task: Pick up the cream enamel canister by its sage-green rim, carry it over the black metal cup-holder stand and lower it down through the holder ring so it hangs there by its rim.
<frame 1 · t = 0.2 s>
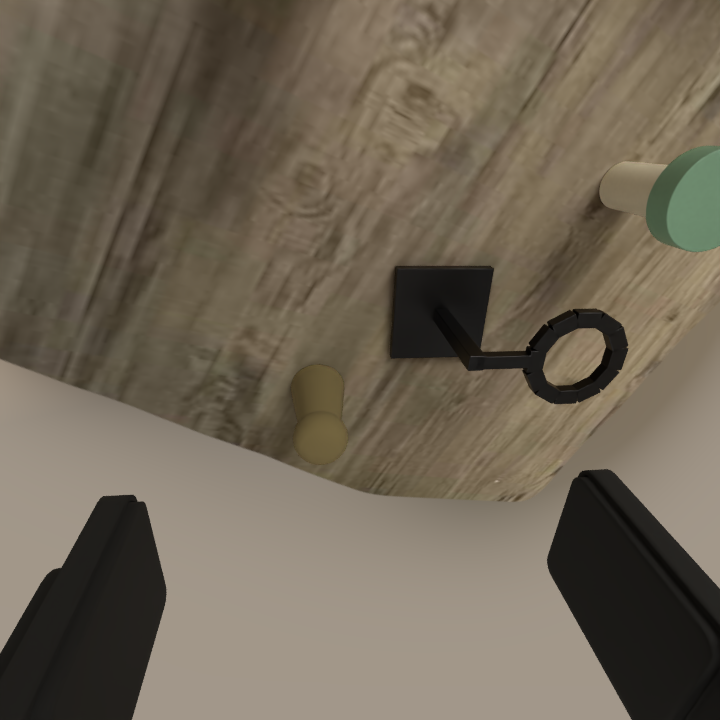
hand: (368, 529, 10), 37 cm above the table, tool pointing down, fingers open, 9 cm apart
tan pawn: (317, 387, 51), on the table
canister: (620, 185, 44), on the table
holder: (518, 310, 49), on the table
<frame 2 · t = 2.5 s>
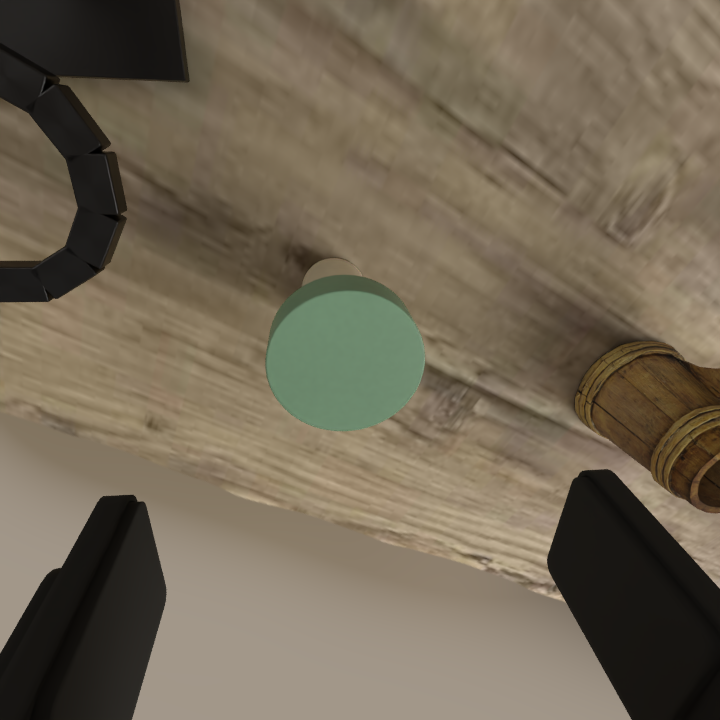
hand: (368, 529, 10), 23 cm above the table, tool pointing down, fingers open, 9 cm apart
wooden mug: (643, 366, 37), on the table
canister: (333, 288, 31), on the table
holder: (111, 159, 26), on the table
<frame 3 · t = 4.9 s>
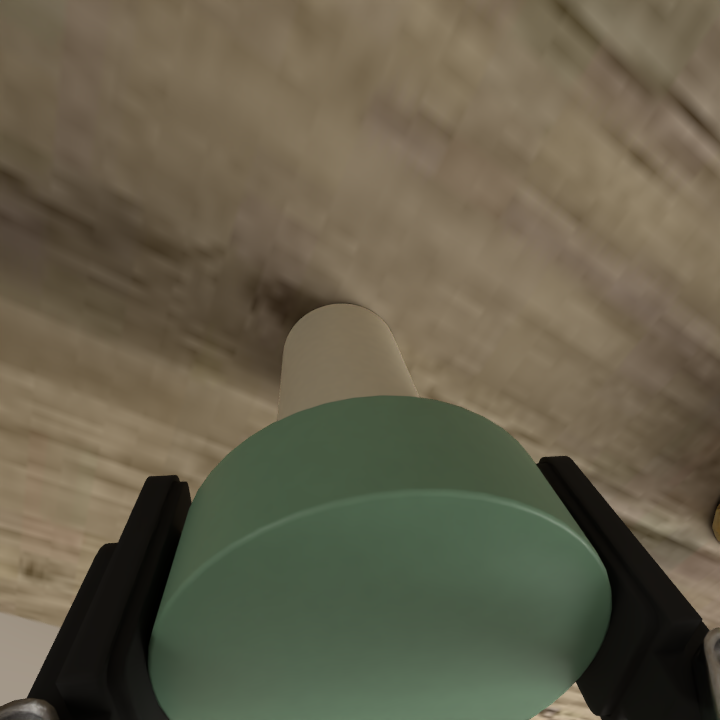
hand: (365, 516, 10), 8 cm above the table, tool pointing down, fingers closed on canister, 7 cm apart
canister: (340, 356, 17), on the table, touching gripper
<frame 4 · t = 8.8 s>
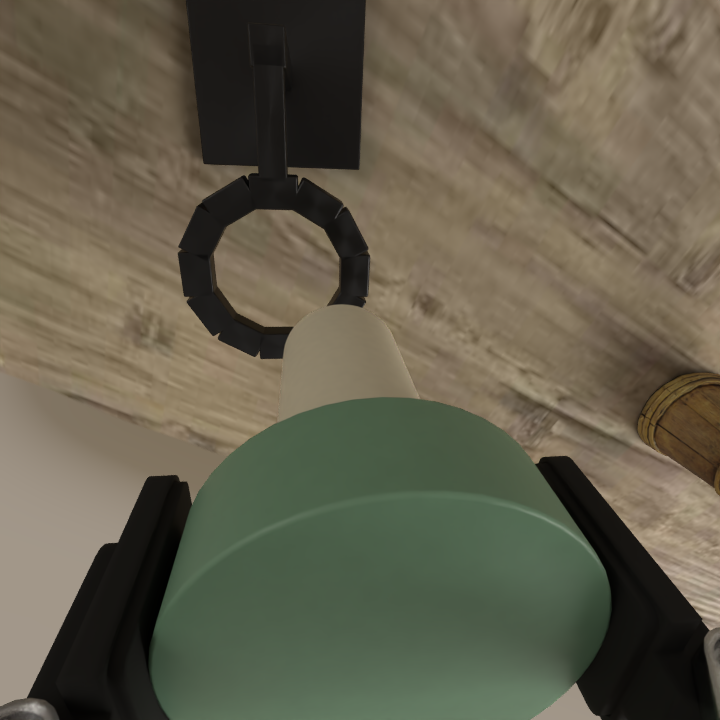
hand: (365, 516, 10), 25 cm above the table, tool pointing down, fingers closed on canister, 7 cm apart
wooden mug: (697, 393, 43), on the table
canister: (340, 357, 17), point 17 cm above the table, touching gripper
holder: (285, 227, 32), on the table
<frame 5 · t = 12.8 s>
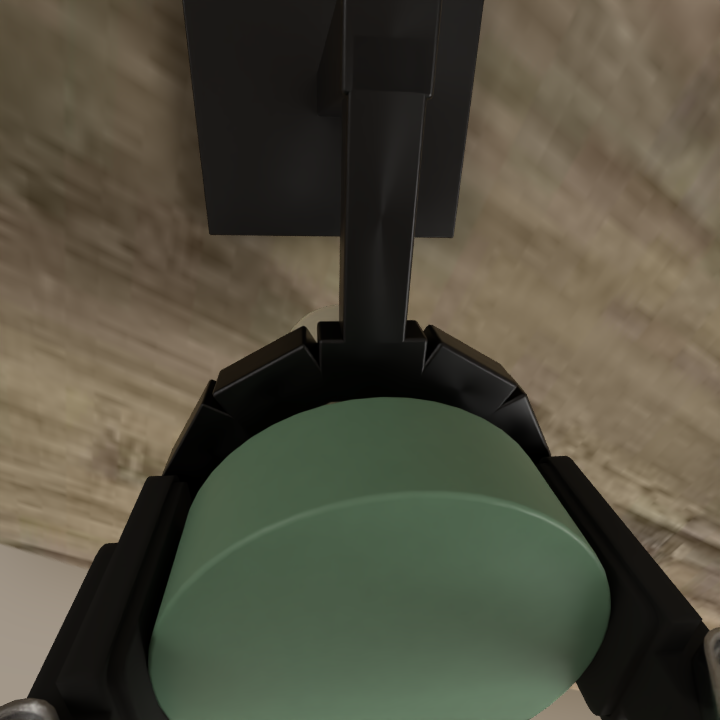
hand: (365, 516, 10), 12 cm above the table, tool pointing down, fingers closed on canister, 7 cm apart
canister: (340, 357, 17), point 4 cm above the table, touching gripper
holder: (333, 318, 21), on the table
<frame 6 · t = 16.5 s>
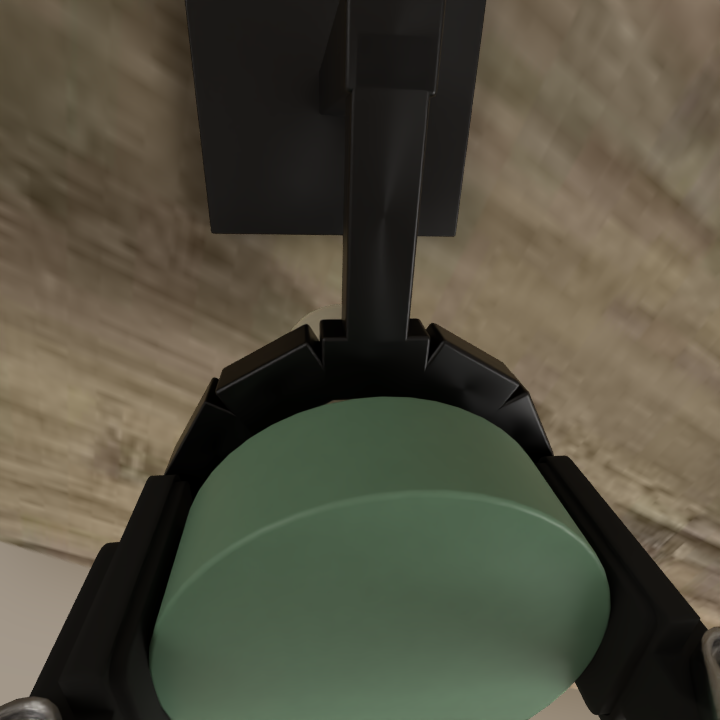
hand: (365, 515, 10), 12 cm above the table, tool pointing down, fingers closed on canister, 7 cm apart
canister: (340, 356, 17), point 4 cm above the table, touching gripper
holder: (334, 317, 21), on the table
when the fingers open (13 cm above the table, at t = 19.8 s): canister drops 1 cm, resting on holder.
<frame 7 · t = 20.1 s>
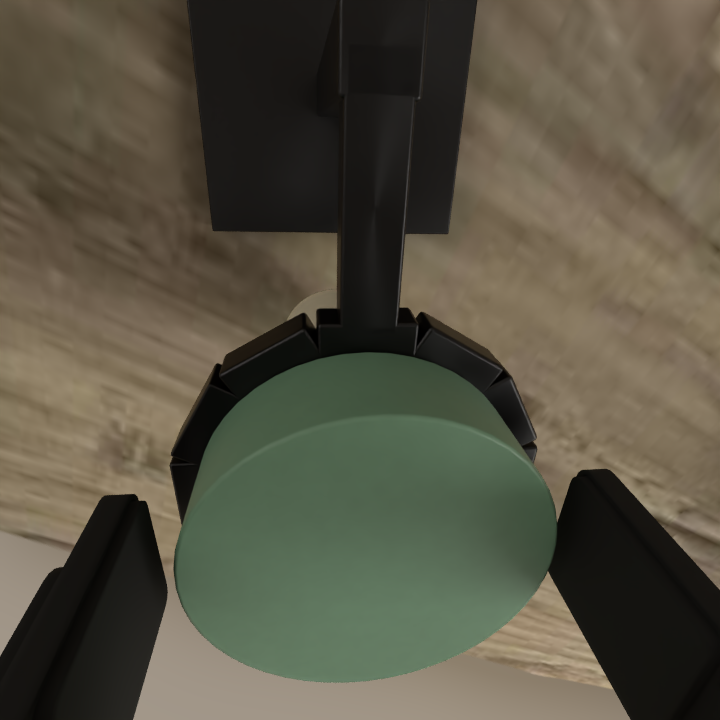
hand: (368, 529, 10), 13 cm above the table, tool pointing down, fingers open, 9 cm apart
canister: (335, 338, 19), point 3 cm above the table, touching holder
holder: (332, 313, 22), on the table
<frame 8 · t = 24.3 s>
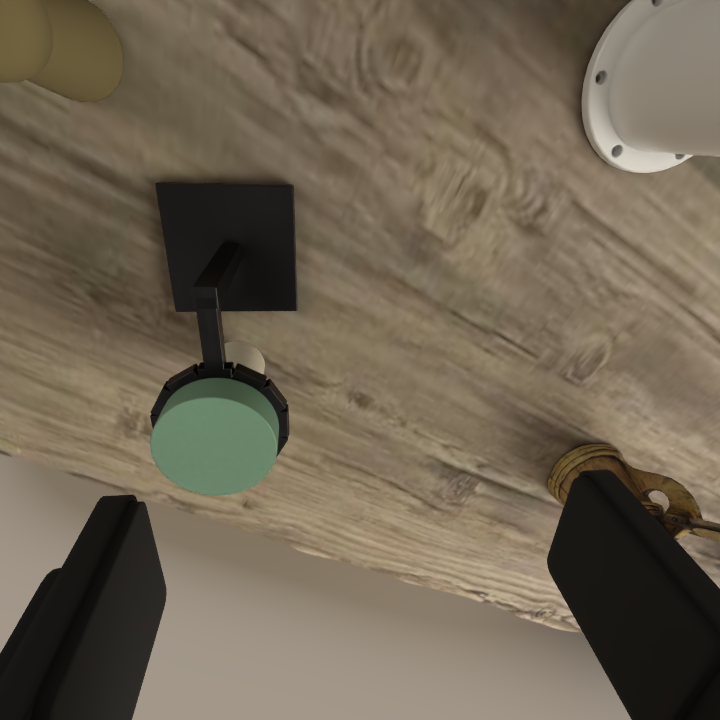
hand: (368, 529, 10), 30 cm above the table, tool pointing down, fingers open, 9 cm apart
tan pawn: (75, 50, 29), on the table
wooden mug: (596, 458, 52), on the table
canister: (238, 364, 38), point 3 cm above the table, touching holder
holder: (242, 349, 40), on the table
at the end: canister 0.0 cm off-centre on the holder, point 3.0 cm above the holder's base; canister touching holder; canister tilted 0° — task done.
